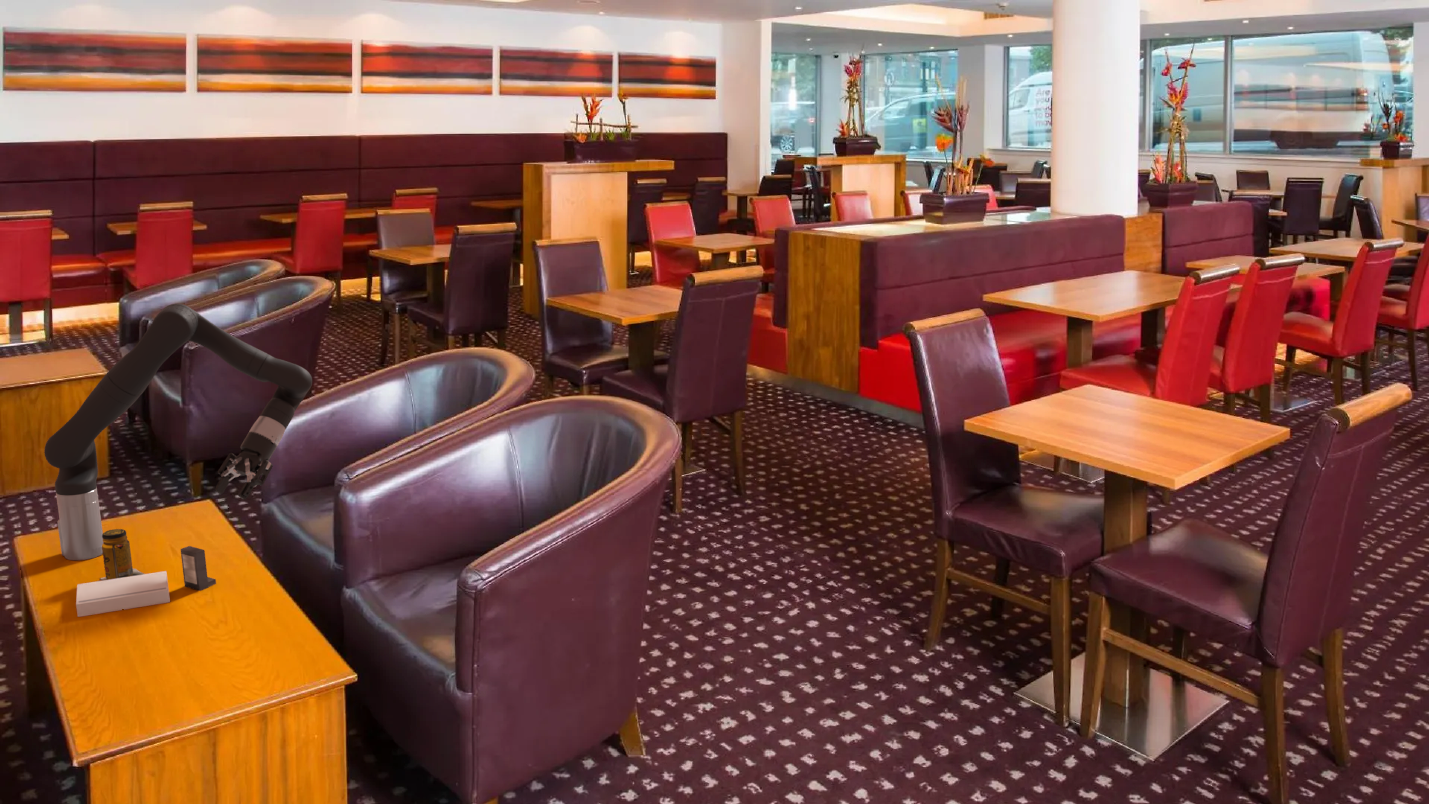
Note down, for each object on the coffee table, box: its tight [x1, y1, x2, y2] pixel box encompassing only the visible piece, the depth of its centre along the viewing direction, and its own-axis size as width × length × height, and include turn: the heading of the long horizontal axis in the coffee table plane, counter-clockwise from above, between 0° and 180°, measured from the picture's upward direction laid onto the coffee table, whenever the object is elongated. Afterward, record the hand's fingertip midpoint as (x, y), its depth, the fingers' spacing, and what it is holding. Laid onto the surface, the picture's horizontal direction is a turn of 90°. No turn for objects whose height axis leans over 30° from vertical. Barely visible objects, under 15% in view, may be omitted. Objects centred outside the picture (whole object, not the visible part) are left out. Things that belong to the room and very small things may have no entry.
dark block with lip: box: [180, 545, 217, 592], centre depth 288 cm, size 6×5×10 cm
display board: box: [75, 570, 171, 618], centre depth 281 cm, size 19×13×3 cm
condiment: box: [99, 528, 145, 581], centre depth 293 cm, size 7×8×12 cm
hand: (229, 495), depth 293 cm, fingers open, 8 cm apart
